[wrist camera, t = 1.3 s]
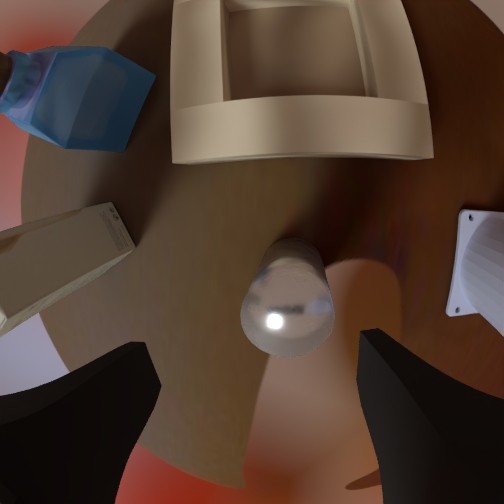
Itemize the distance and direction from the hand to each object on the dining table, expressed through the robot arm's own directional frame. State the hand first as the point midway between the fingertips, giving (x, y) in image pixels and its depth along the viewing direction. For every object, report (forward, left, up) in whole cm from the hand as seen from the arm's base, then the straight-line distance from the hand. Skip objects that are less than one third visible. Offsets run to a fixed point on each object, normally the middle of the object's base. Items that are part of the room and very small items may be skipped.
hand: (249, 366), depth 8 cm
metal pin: (-1, 0, -10) cm, 10 cm away
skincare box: (+14, -2, -11) cm, 18 cm away
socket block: (-2, -14, -10) cm, 17 cm away
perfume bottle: (+12, -13, -11) cm, 21 cm away
